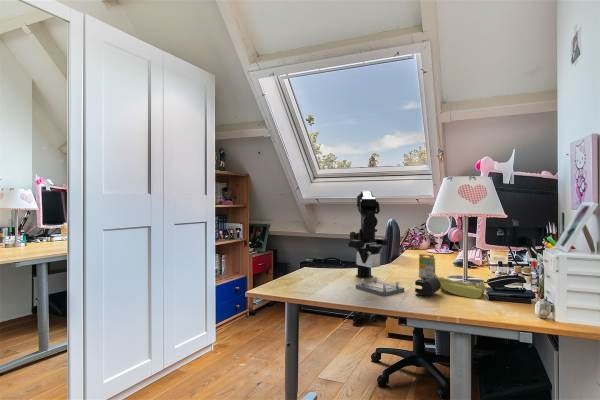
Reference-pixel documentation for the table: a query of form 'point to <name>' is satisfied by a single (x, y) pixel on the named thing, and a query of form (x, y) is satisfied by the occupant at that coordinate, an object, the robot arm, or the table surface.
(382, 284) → the tray
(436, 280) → the end cap
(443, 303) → the table surface
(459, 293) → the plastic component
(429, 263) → the crayon box
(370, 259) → the drive
